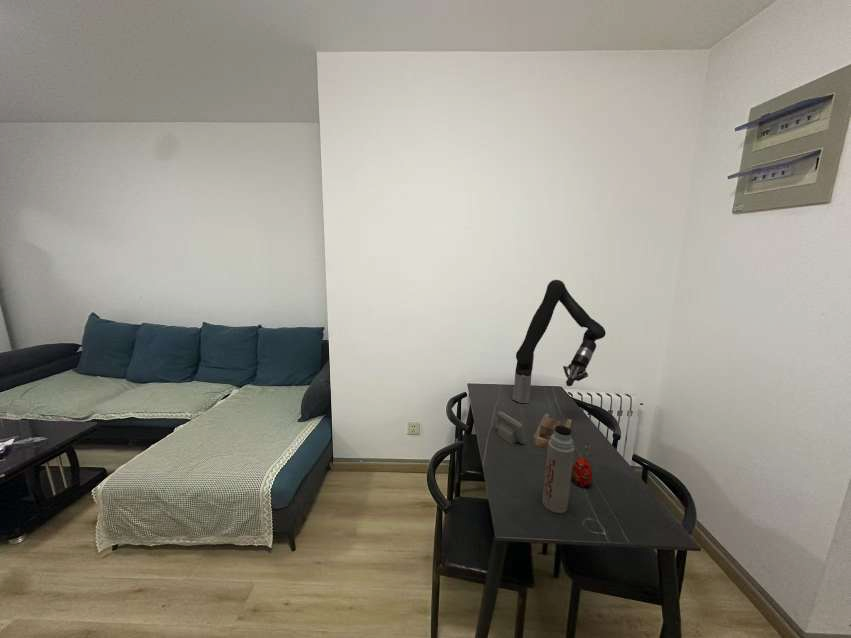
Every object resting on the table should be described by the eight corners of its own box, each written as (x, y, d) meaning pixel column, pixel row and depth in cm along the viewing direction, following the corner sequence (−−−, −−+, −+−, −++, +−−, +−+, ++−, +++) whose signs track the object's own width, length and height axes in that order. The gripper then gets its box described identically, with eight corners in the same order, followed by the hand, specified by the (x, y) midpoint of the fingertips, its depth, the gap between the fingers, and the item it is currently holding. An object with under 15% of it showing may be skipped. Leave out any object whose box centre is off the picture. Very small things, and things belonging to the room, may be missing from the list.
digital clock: (527, 445, 145) (529, 423, 143) (510, 448, 142) (511, 426, 140) (508, 427, 160) (509, 408, 158) (492, 430, 157) (493, 410, 155)
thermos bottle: (548, 513, 105) (557, 435, 100) (538, 496, 113) (545, 423, 108) (571, 512, 106) (581, 435, 101) (559, 495, 114) (568, 422, 109)
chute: (532, 444, 145) (533, 437, 145) (544, 419, 169) (544, 413, 169) (563, 453, 139) (564, 446, 138) (570, 426, 163) (571, 420, 162)
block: (538, 443, 147) (540, 425, 145) (546, 434, 155) (547, 417, 153) (551, 448, 143) (553, 429, 142) (558, 438, 151) (560, 421, 149)
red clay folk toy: (566, 476, 124) (570, 441, 121) (581, 474, 126) (585, 439, 123) (580, 490, 117) (585, 453, 114) (596, 487, 118) (601, 450, 116)
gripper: (568, 350, 168) (553, 377, 163) (593, 357, 158) (579, 385, 153) (571, 358, 172) (557, 385, 167) (597, 365, 162) (583, 393, 157)
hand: (568, 385), depth 160 cm, fingers closed
